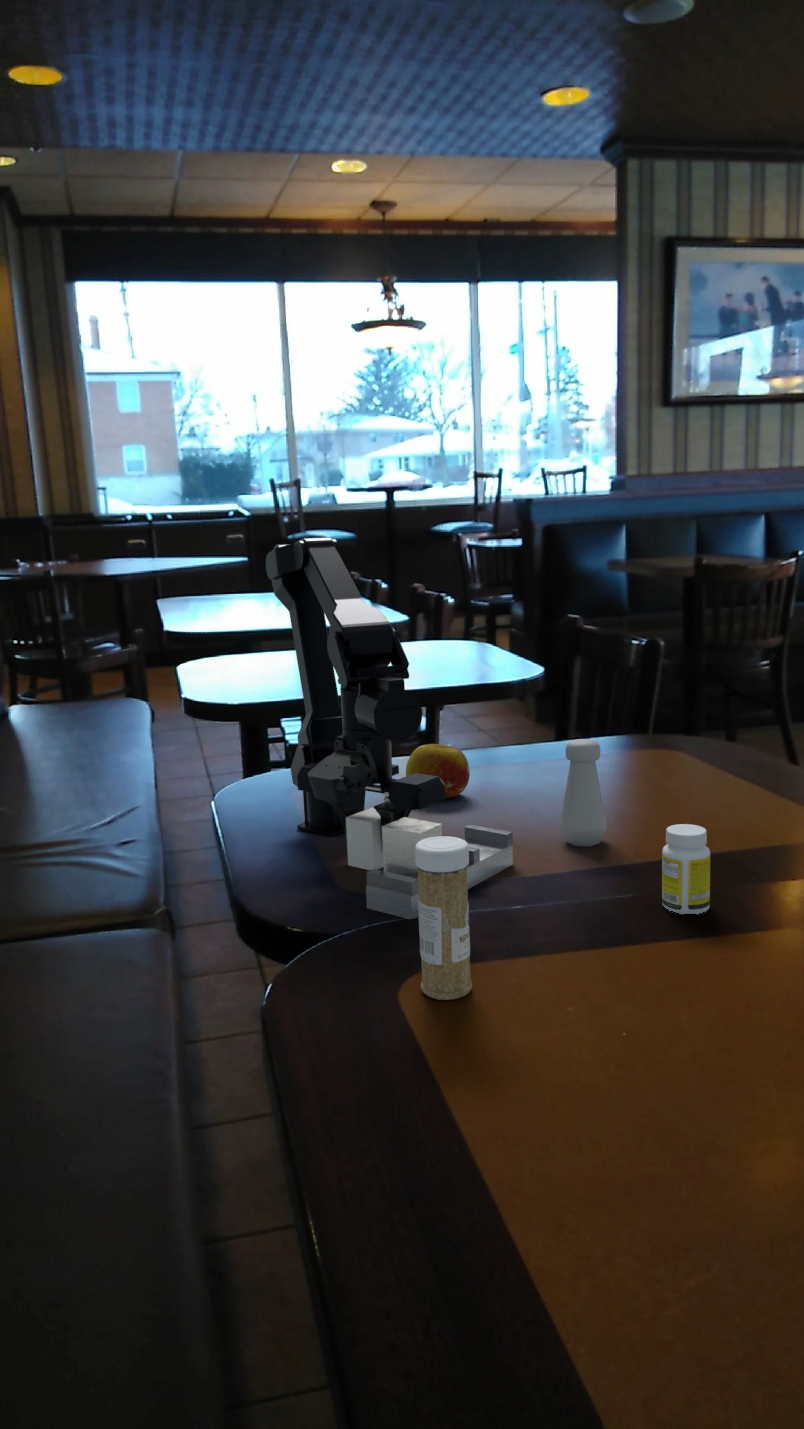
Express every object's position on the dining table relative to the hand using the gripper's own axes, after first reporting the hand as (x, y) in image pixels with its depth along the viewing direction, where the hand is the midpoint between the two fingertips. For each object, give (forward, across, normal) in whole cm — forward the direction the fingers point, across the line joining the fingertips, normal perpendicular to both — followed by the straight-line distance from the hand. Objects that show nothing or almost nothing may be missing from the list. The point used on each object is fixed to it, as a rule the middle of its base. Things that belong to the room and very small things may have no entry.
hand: (371, 852), depth 122 cm
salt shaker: (+1, +18, +20) cm, 27 cm away
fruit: (+2, -10, +28) cm, 30 cm away
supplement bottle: (+1, +37, +6) cm, 38 cm away
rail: (+1, +12, -2) cm, 12 cm away
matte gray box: (+1, 0, 0) cm, 1 cm away
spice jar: (+1, +27, -23) cm, 35 cm away
